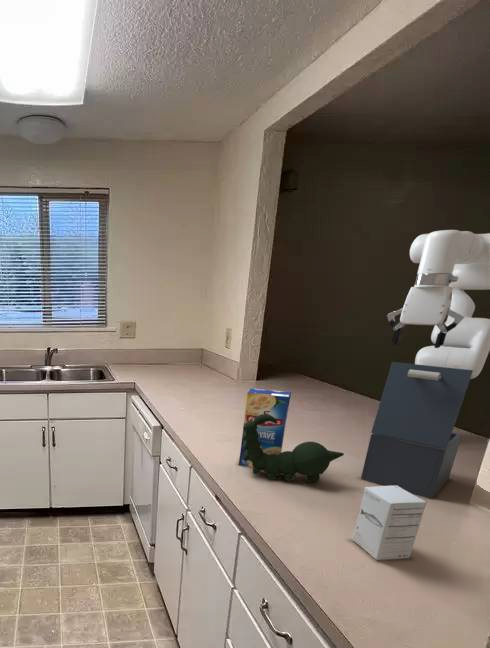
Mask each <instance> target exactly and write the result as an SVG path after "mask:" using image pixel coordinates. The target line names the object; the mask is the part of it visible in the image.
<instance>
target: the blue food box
mask: <svg viewBox="0 0 490 648" xmlns="http://www.w3.org/2000/svg"><path fill="white" fill-rule="evenodd" d="M291 395H292V391H285V390H275V389H264V388H254V387H253V388H252V387H251V388H250V389H249V390H248V392H247V395H246V403H245V411H244V420H243V424H244V423H246V422H248V421H253V422H254V419H255V418H256V416H258V415H261V414H268V415H271V416H273V417H274V418H275V419H276V420H277V423H276V424H275V423H274V422H271V421H267V422H264V423H263V424H261V425H257V430H256V431H257V432H258V434H259V436H258V440H259V442H260V448H261V449H262V450H263V453H266V454H268V455H269V454H277V455H279V454H280V453H282V452H283V451H282V450H283V444H284V438H285V433H286V432H285V431H286V426H287V419H288V413H289V407H290V402H291ZM244 432H245V430H244V429H243V428H242V436H241V443H240V444H241V445H240V451H239V460H238V466H243V467H249V468H253V464H252V462H251V461H249V460H248V461H244V460H243V459H242V457H243V453H244V452H246V450H244V449H243V446H244V445H243V442H244V441H245V439H243V433H244Z"/></svg>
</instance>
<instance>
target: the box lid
mask: <svg viewBox="0 0 490 648" xmlns="http://www.w3.org/2000/svg"><path fill="white" fill-rule="evenodd" d="M472 372H473V370H465V369H456V368H446V367H436V366H427V365H417V364H415V363H408V362H397V361H392V362H391V365H390V368H389V372H388V375H387V378H386V382H385V385H384V387H383V392H382V394H381V399H380V401H379V404H378V405H379V406H378V408H377V411H376V414H375V415H376V416H375V418H374V422H373V425H372V428H371V432H370V434H373V433H374V434H379V435H384V436H388V437H393V438H398V439H403V440H407V441H412V442H417V443H422V444H426V445H431V446H436V447H441V448H445V449H447V446H448V443H449V440H450V437H451V434H452V433H453V431H454V429H455V424H456V423H457V419H458V417H459V413H460V410H461V408H462V404H463V401H464V399H465V396H466V392H467V389H468V387H469V384H470V380H471V379H470V378H471V375H472Z"/></svg>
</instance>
